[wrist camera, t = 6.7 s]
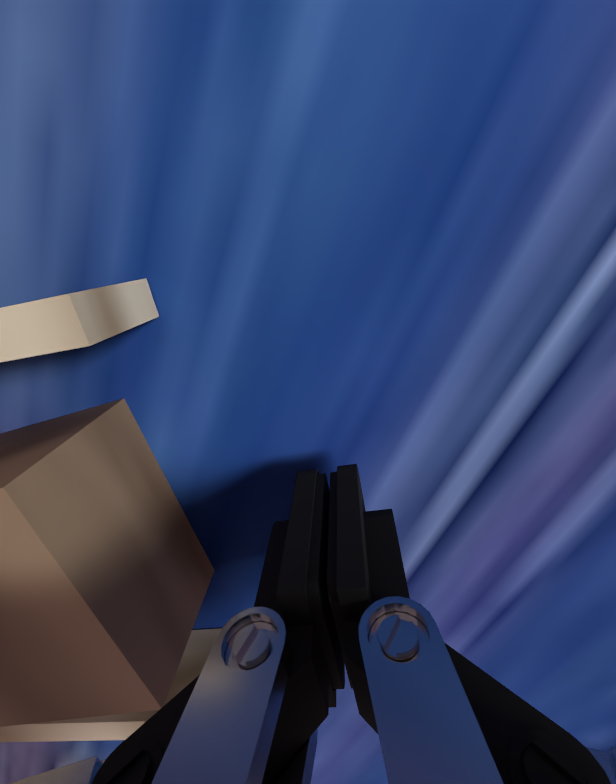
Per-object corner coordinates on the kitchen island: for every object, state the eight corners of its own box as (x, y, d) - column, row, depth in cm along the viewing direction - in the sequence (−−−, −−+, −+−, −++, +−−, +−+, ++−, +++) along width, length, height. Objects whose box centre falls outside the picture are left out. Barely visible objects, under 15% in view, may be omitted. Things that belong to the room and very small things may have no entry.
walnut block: (127, 395, 11) (3, 487, 7) (216, 566, 14) (162, 709, 9) (-53, 447, 12) (-248, 551, 8) (57, 594, 15) (-52, 732, 11)
